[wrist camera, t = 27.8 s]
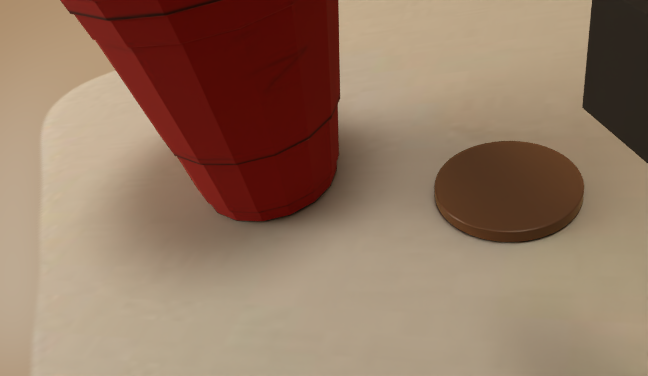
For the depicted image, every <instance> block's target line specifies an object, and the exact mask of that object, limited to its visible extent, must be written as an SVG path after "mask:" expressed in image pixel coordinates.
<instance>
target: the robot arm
mask: <svg viewBox="0 0 648 376" xmlns="http://www.w3.org/2000/svg"><path fill="white" fill-rule="evenodd" d="M582 108H584V109H585V110H586V111H587V112H588V113H589V114H591V115H592V116H593V117H594V118H595V119H596V120H598V121H599V122H600V123H601V124H602V125H603V126H605V127H606V128H607V129H608V130H609V131H610V132H612V133H613V134H614V135H615V136H616V137H617V138H619V139H620V140H621V141H622V142H623V143H624V144H626V145H627V146H628V147H629V148H630V149H631V150H633V151H634V152H635V153H636V154H637V155H638V156H640V157H641V158H642V159H643V160H644V161H645V162H647V163H648V0H592V8H591V19H590V30H589V41H588V52H587V63H586V74H585V85H584V96H583V107H582Z"/></svg>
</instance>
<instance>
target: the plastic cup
mask: <svg viewBox="0 0 648 376" xmlns="http://www.w3.org/2000/svg"><path fill="white" fill-rule="evenodd" d="M61 2H62V3H63V4H64V6H65V7H66V8H67V10H68V11H69V12H70V14H74V15H75V16H76V18H77V19H78V20H79V22H80V23H81V25H82V26H83V27H84V28H85V30H86V31H87V32H88V34H89V35H90V36H91V38H92V39H94V40H96V42H97V43H98V45H99V46H100V48H101V49H102V51H103V52H104V54H105V55H106V57H107V58H108V60H109V61H110V62H111V64H112V65H113V67H114V68H115V70H116V71H117V73H118V74H119V76H120V77H121V79H122V80H123V82H124V83H125V85H126V86H127V87H128V89H129V90H130V92H131V93H132V95H133V96H134V98H135V99H136V101H137V102H138V104H139V105H140V107H141V108H142V109H143V111H144V112H145V114H146V115H147V117H148V118H149V120H150V121H151V123H152V124H153V126H154V127H155V129H156V130H157V132H158V133H159V134H160V136H161V137H162V139H163V140H164V142H165V143H166V144H167V146H168V147H169V148H170V150H171V151H172V152H173V154H174V155H175V156H177V157H178V159H179V160H180V162H181V164H182V165H183V167H184V168H185V170H186V171H187V173H188V174H189V176H190V178H191V179H192V181H193V182H194V184H195V185H196V187H197V188H198V190H199V191H200V193H201V194H202V195H203V197H204V198H205V199H206V200H207V202H208V203H210V204H211V205H212V206H213V207H214V209H215V210H216V211H217V212H218V213H220V214H222V215H225V216H227V217H230V218H232V219H235V220H239V221H266V220H270V219H274V218H279V217H283V216H287V215H291V214H292V213H294V212H296V211H298V210H300V209H302V208H304V207H306V206H307V205H309V204H311V203H313V202H315V201H316V200H317V199H318V198H319V197H320V196H321V195H322V194H323V193H324V192H325V191H326V190H327V188H328V187H329V186H330V185H331V183H332V180H333V177H334V174H335V172H336V169H337V159H338V156H339V142H338V102H339V99H340V70H339V14H338V0H61Z"/></svg>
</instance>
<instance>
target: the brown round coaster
mask: <svg viewBox="0 0 648 376" xmlns="http://www.w3.org/2000/svg"><path fill="white" fill-rule="evenodd" d="M434 187H435V199H436V203H437V206H438V208H439V210H440V212H441V213H442V215H443V216H444V217H445V219H446V220H447V221H448V222H449V223H451V224H452V225H453V226H455V227H456V228H458V229H459V230H461V231H463V232H465V233H467V234H470V235H472V236H475V237H478V238H482V239H486V240H491V241H500V242H520V241H528V240H534V239H538V238H541V237H544V236H547V235H550V234H552V233H554V232H556V231H558V230H560V229H562V228H563V227H565V226H566V225H567V224H568V223H570V222H571V221H572V220H573V219H574V217H575V216H576V215H577V214H578V212H579V210H580V208H581V206H582V202H583V195H584V182H583V178H582V176H581V173H580V172H579V170H578V168H577V167H576V166H575V165H574V164H573V163H572V162H571V161H570V160H569V159H568V158H567V157H565V156H564V155H562V154H560V153H559V152H557V151H555V150H552V149H550V148H547V147H545V146H541V145H538V144H533V143H528V142H520V141H499V142H491V143H485V144H481V145H477V146H474V147H471V148H468V149H466V150H464V151H462V152H460V153H458V154H456V155H455V156H453V157H452V158H451V159H449V160H448V161H447V162H446V163H445V164H444V165H443V167H442V168H441V169H440V171H439V173H438V174H437V177H436V180H435V186H434Z"/></svg>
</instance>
